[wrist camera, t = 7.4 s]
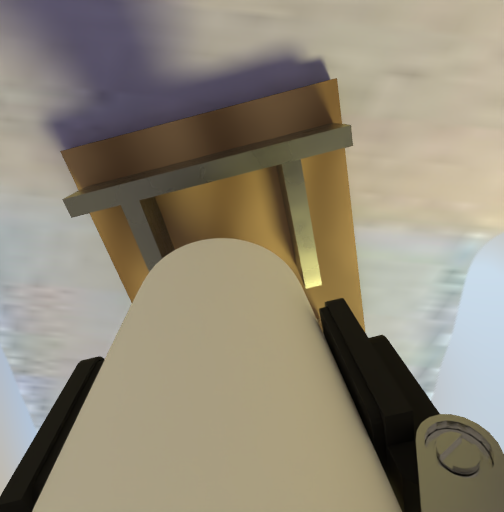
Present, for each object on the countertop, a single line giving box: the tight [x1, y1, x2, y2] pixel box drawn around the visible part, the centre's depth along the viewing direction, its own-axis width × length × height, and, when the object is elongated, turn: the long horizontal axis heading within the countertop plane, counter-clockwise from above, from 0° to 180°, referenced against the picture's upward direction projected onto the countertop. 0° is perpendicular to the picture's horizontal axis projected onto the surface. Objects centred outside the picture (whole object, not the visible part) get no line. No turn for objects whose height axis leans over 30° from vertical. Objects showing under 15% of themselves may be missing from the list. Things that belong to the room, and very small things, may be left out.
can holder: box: [62, 123, 353, 289], centre depth 19 cm, size 15×9×3 cm, turn 103°
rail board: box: [60, 78, 365, 332], centre depth 22 cm, size 16×18×1 cm
